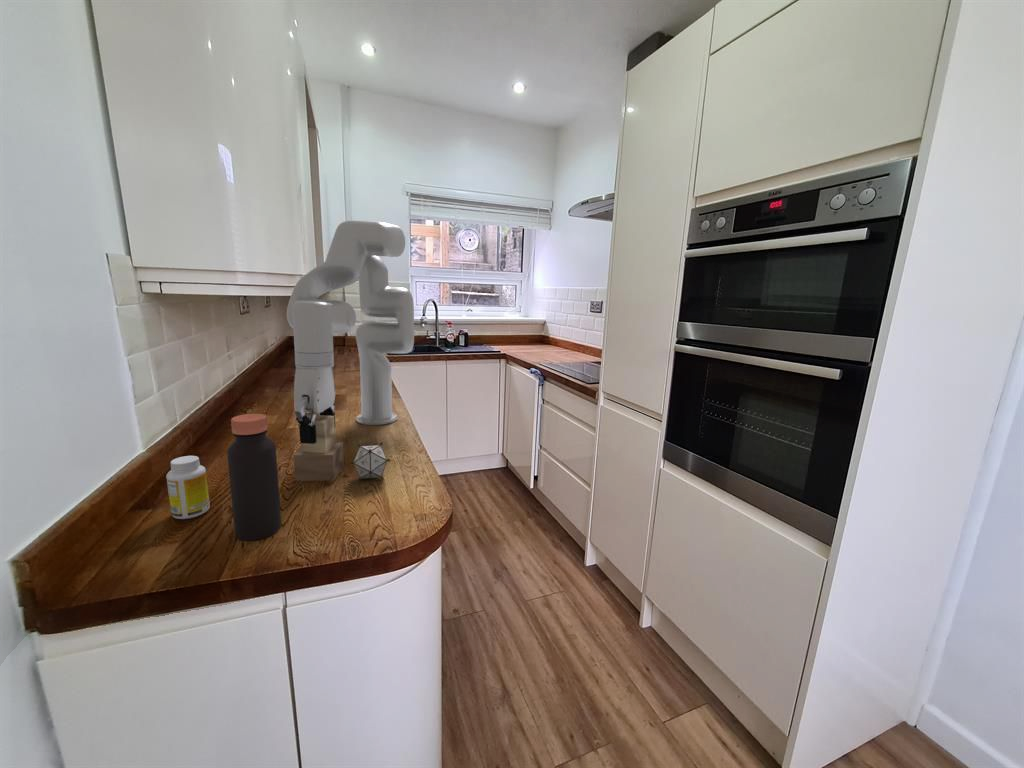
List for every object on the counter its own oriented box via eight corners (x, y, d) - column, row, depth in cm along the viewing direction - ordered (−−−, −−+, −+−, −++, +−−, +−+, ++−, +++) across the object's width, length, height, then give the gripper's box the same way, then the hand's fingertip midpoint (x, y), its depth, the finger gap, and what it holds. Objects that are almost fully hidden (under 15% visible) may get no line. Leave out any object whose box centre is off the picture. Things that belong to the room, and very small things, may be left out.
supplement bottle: (215, 504, 79) (210, 453, 77) (201, 519, 73) (195, 464, 71) (181, 506, 77) (174, 454, 75) (164, 522, 72) (157, 466, 70)
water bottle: (286, 531, 71) (278, 418, 67) (240, 546, 66) (228, 426, 62) (274, 515, 76) (266, 409, 72) (230, 529, 71) (219, 416, 67)
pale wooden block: (313, 444, 95) (311, 415, 94) (335, 445, 96) (334, 415, 94) (302, 452, 91) (300, 421, 89) (325, 453, 91) (324, 422, 89)
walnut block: (308, 466, 98) (306, 442, 96) (343, 466, 99) (342, 442, 98) (295, 481, 90) (293, 455, 89) (333, 480, 91) (332, 455, 90)
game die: (375, 497, 92) (374, 474, 85) (342, 479, 93) (339, 456, 86) (398, 466, 98) (399, 443, 91) (366, 450, 99) (365, 426, 92)
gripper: (315, 353, 98) (318, 423, 101) (275, 365, 81) (281, 448, 84) (347, 355, 98) (349, 424, 101) (314, 366, 81) (318, 450, 84)
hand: (318, 435), depth 93 cm, fingers open, 9 cm apart
